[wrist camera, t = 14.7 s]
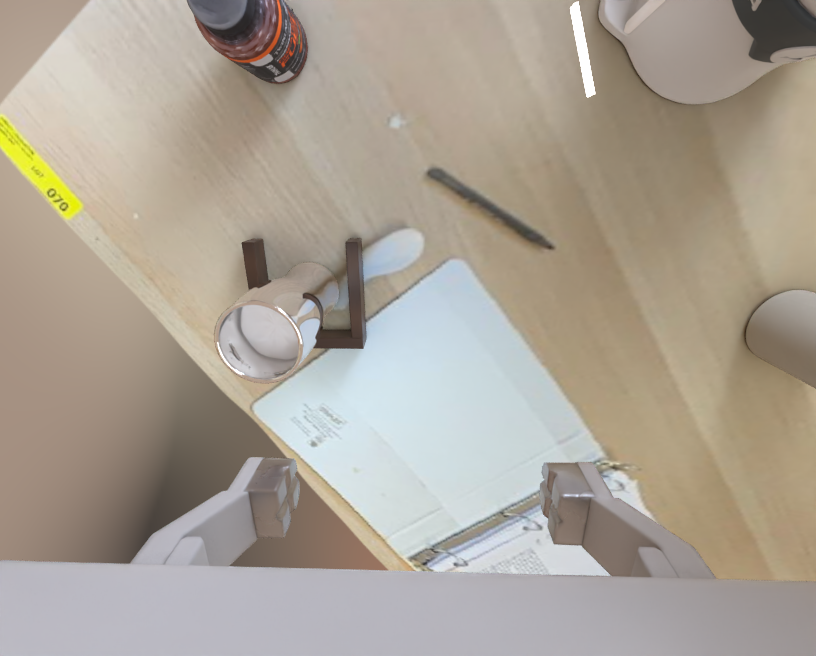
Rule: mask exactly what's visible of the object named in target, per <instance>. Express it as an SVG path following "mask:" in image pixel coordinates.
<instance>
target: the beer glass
mask: <svg viewBox="0 0 816 656" xmlns="http://www.w3.org/2000/svg"><path fill="white" fill-rule="evenodd" d="M338 299H339V285H338V282H337V280H336V278H335V276H334V275H333V273H332V272H331V271H330V270H329V269H327V268H326V267H324V266H323V265H321V264H318V263H314V262H303V263H300V264H297V265H295V266H294V267H292V268H291V269H290V270H289V271H288V272H287V274H286V275H285V277H281V278H276V279H272V280H269V281H266V282H263V283H261V284H259V285H257V286H256V287H254V288H252V289H250V290H249V291H248V292H246V293H245V294H244V295H242V296H241V297H240V298H239V299H238V300H237V301H236V302H234V303H233V304H232V305H231V306H230V307H229V308H227V309H226V310H225V311H224V312H223V313H222V314H221V316H220V317H219V319H218V321H217V323H216V326H215V330H214V342H215V347H216V350H217V352H218V355H219V356H220V358H221V360H222V361H223V363H224V364H225V365H226V366H227V367H228V368H229V369H230V370H231V371H232V372H233V373H235V374H236V375H238V376H240V377H241V378H243V379H246V380H248V381H252V382H256V383H274V382H278V381H281V380H283V379H285V378H287V377H288V376H290V375H291V374H292V373H293V372H294V371H295V370H296V369H297V367H298V366H299V365H300V364H301V363H302V361H303V360H304V359H305V358H306V357H307V356H308V354H309V353H310V352H311V350H312V349H313V348H314V346H315V344H316V343H317V341H318V339H319V337H320V335H321V332H322V329H323V325H324V320H325V315H327V314H328V313H329V312H331V311H332V310H333V309H334V307H335V306H336V304H337V302H338Z"/></svg>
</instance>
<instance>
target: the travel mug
mask: <svg viewBox="0 0 816 656" xmlns="http://www.w3.org/2000/svg"><path fill="white" fill-rule="evenodd" d="M746 341H747V345H748V347H749V349H750V350H751V351H752V353H753V354H755V355H756V356H757V357H759V358H761V359H763V360H765V361H766V362H768V363H770V364H772V365H774V366H776V367H777V368H779V369H781V370H783V371H785V372H787V373H788V374H790V375H792V376H794V377H796V378H797V379H799V380H801V381H803V382H805V383H807V384H808V385H810V386H812V387H814V388H816V293H814V292H811V291H807V290H791V291H786V292H783V293H780V294H778V295H776V296H774V297H772V298H770V299H769V300H767V301H766V302H764V303H763V304H762V305H761V306H760V307H759V308H758V309H757V310H756V311H755V313H754V314H753V316H752V317H751V319H750V321H749V323H748V326H747V330H746Z"/></svg>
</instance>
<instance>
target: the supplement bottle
mask: <svg viewBox="0 0 816 656" xmlns="http://www.w3.org/2000/svg"><path fill="white" fill-rule="evenodd" d="M187 2H188V5H189V7H190V9H191V10H192V12H193V14H194V17H195V21H196V23H197V25H198V28H199V30H200V31H201V33H202V35H203V36H204V38H205V39H206V40H207V42H208V43H209V44H210V45H211V46H212V47H213V48H214V49H215V50H216V51H218V52H219V53H221V54H222V55H224V56H225V57H227V58H228V59H230V60H231V61H233V62H234V63H236V64H238V65H239V66H241V67H242V68H244V69H246V70H247V71H249V72H250V73H252V74H254V75H255V76H257V77H258V78H260V79H262V80H264V81H267V82H270V83H276V84H279V83H285V82H288V81H290V80H292V79H293V78H295V77H296V76H297V75H298V74H299V73H300V71H301V70H302V68H303V66H304V64H305V61H306V58H307V51H308V47H307V39H306V35H305V32H304V29H303V27H302V25H301V23H300V22H299V20H298V18H297V17H296V15H295V14H294V12H293V11H291V9H290V8H289V6H288V5H287V4H286V3H285V2H284V0H187ZM292 10H293V9H292Z"/></svg>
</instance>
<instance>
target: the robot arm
mask: <svg viewBox="0 0 816 656" xmlns="http://www.w3.org/2000/svg"><path fill="white" fill-rule="evenodd" d="M570 11H571V17H572V22H573V27H574V32H575V38H576V43H577V48H578V53H579V59H580V64H581V69H582V74H583V80H584V85H585V90H586V95H587V97H589V96H592V95H594V94H595V90H594V84H593V79H592V73H591V68H590V63H589V57H588V52H587V46H586V41H585V35H584V30H583V25H582V19H581V14H580V8H579V3H578V2H576V3H574V4H573V5H572V6H571V8H570ZM598 16H599V20H600V22H601V23H602V25H603V26H604V27H605V28H606V29H607V30H608V31H609V32H610V33H611V34H612V35H614V36H615V37H616V38H617V39H619V40H620V41H621V42H622V43H623V45H624V46H625V48H626V50H627V52H628V54H629V57H630V59H631V61H632V64H633V66H634V68H635V70H636V71H637V73H638V75H639V76H640V77H641V79H642V80H643V81H644V82H645V83H646V85H647V86H648V87H650V88H651V89H652V90H653V91H654V92H656V93H657V94H659V95H660V96H662V97H664V98H666V99H669V100H671V101H674V102H678V103H683V104H706V103H711V102H716V101H719V100H722V99H725V98H728V97H730V96H732V95H734V94H736V93H738V92H740V91H742V90H743V89H745V88H747V87H748V86H750V85H751V84H752V83H754V82H755V81H756V80H758V79H759V78H760V77H761V76H763V75H765V74H766V73H768V72H770V71H772V70H773V69H775V68H777V67H779V66H781V65H784V64H786V63H794V62H800V61H805V60H809V59H813V58H816V0H601V1H600V5H599V10H598ZM296 471H297V465H296V460H295V459H290V458H256V457H250V458H249V459H247V460H246V462H245V463H244V465H243V467H242V468H241V470H240V471H239V473H238V475H237V476H236V478H235V479H234V481H233V482H232V484H231V486H230V487H229V489H228V490H227V491H222V492H220V493H219V494H217V495H215V496H214V497H212V498H211V499H209V500H207V501H206V502H204V503H202V504H201V505H199V506H198V507H196V508H194V509H193V510H191V511H189V512H188V513H186V514H185V515H183V516H181V517H180V518H178V519H176V520H175V521H173V522H172V523H170V524H168V525H167V526H165V527H163V528H162V529H160V530H158V531H157V532H156V533H154V534H152V535H151V537H150V538H149V539H148V541H147V542H146V543H145V544H144V546H143V547H142V548H141V550H140V551H139V552H138V554H137V555H136V556H135V558H134V559H133V560H132V562H131V563H130V564H115V563H76V562H75V563H74V562H40V561H14V560H0V656H816V581H779V580H739V579H717V578H716V577H715V576H714V574H713V573H712V572H711V570H710V569H709V567H708V566H707V565H706V563H705V562H704V560H703V559H702V558H701V556H700V555H699V554H698V552H697V551H696V549H695V548H694V547H693V546H691V545H690V544H688V543H687V542H685V541H684V540H682V539H681V538H679V537H677V536H676V535H674V534H673V533H671V532H670V531H668V530H667V529H665V528H664V527H662V526H661V525H659V524H657V523H656V522H654V521H653V520H651V519H650V518H648V517H647V516H645V515H644V514H642V513H641V512H639V511H637V510H636V509H634V508H633V507H631V506H630V505H628V504H627V503H625V502H624V501H622V500H621V499H619V498H614V497H613V496H612V494H611V492H610V491H609V489H608V487H607V486H606V484H605V482H604V480H603V479H602V477H601V475H600V474H599V472H598V470H597V469H596V467H595V465H594V464H593V463H591V462H575V463H544V464H543V466H542V475H543V478H544V481H543V482H542V483H541V484H540V491H539V495H540V504H541V509H542V512H543V515H544V516H545V517H547V518H548V529H549V532H550V535H551V537H552V540H553V543H554V544H562V545H581V546H582V547H583V548H584V549H585V550H586V551H587V552H588V553H589V554H590V555H591V556H592V557H593V558H594V559H595V560H596V561H597V562H598V563H599V564H600V565H601V566H602V567H603V568H604V569H605V570H606V571H607V572H608V573H609V574H610V575H611V576H582V575H541V574H503V573H466V572H425V571H383V570H346V569H343V570H342V569H307V568H268V567H231V566H229V565H231V564H232V563H233V561H235V560H236V559H237V558H238V557H239V556H240V555H241V554H242V553H243V552H244V551H246V550H247V549H248V548H249V547H250V546H251V545H252V544H253V543H254V542H255V541H256V540H257V538H284V537H285V534H286V532H287V529H288V527H289V524H290V522H291V519H290V513H291V512H293V511H294V510H295V509H296V506H297V503H298V498H299V480H298V479H297V478H296V477H295V476H294V475H295V473H296Z"/></svg>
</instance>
